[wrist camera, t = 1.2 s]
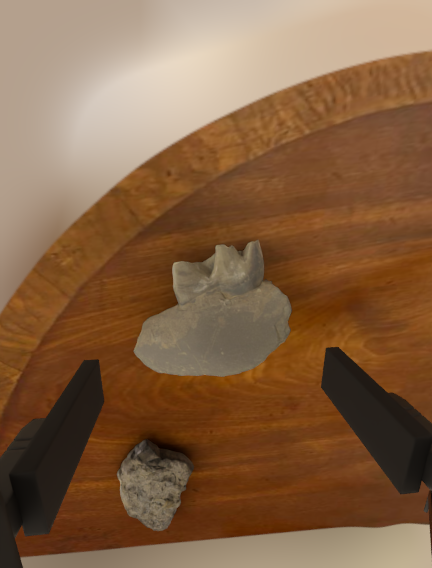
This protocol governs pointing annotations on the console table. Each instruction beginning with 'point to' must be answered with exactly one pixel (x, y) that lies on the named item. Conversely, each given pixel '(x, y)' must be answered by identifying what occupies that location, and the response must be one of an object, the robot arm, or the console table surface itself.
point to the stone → (153, 483)
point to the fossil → (217, 317)
